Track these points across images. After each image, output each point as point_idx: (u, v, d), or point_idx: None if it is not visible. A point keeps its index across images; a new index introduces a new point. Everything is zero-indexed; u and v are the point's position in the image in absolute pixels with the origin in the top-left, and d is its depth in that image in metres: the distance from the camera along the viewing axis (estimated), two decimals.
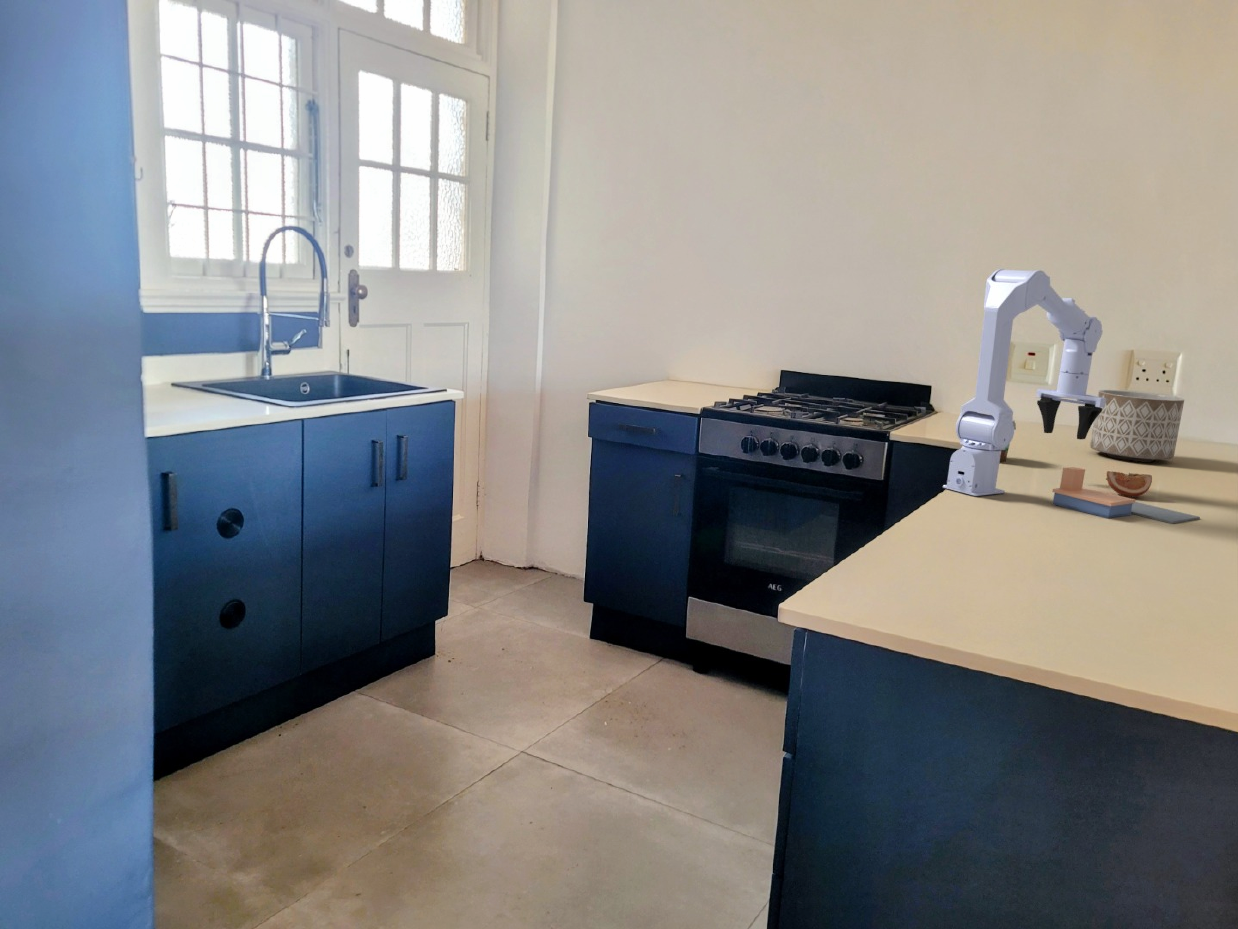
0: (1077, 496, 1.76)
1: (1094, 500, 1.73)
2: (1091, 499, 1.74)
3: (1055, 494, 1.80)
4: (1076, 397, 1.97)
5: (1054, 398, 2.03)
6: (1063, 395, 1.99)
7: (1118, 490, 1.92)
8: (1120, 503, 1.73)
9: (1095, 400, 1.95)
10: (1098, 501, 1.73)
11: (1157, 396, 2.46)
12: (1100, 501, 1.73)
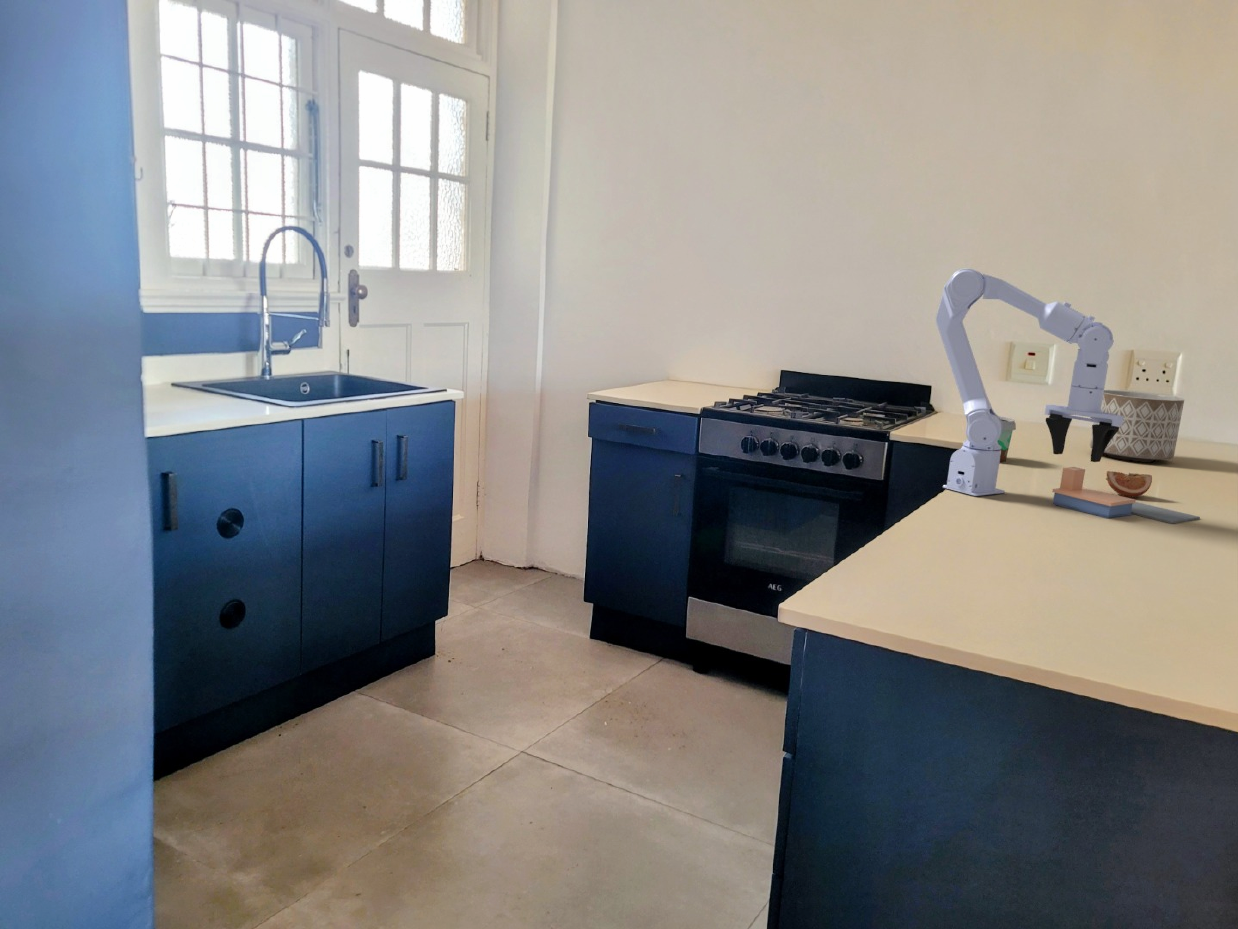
0: (1077, 496, 1.76)
1: (1094, 500, 1.73)
2: (1091, 499, 1.74)
3: (1055, 494, 1.80)
4: (1090, 415, 1.75)
5: (1065, 415, 1.81)
6: (1075, 412, 1.77)
7: (1118, 490, 1.92)
8: (1120, 503, 1.73)
9: (1112, 418, 1.73)
10: (1098, 501, 1.73)
11: (1157, 396, 2.46)
12: (1100, 501, 1.73)
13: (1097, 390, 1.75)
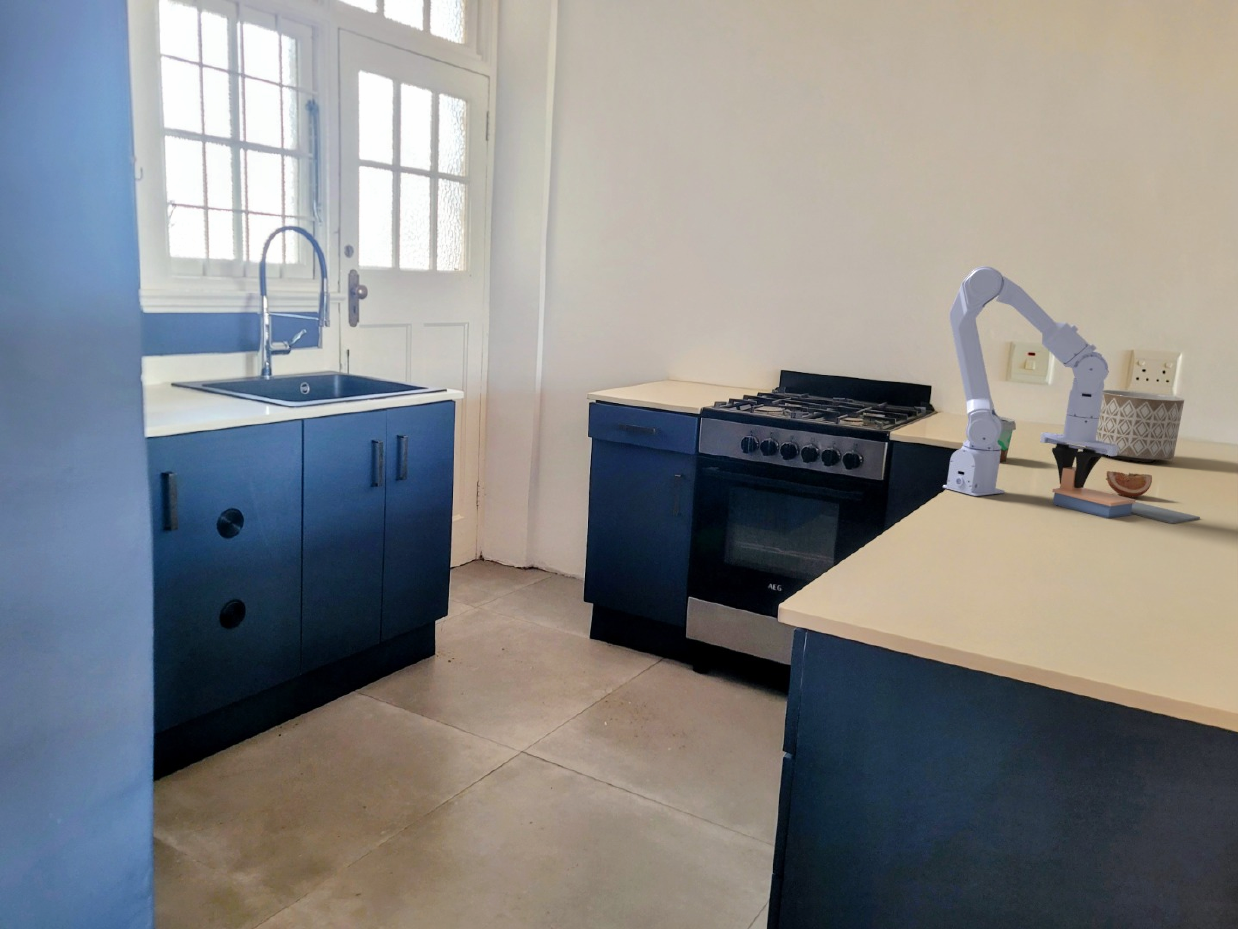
0: (1077, 496, 1.76)
1: (1094, 500, 1.73)
2: (1091, 499, 1.74)
3: (1055, 494, 1.80)
4: (1085, 444, 1.76)
5: (1060, 443, 1.82)
6: (1070, 441, 1.78)
7: (1118, 490, 1.92)
8: (1120, 503, 1.73)
9: (1107, 448, 1.74)
10: (1098, 501, 1.73)
11: (1157, 396, 2.46)
12: (1100, 501, 1.73)
13: (1092, 419, 1.76)
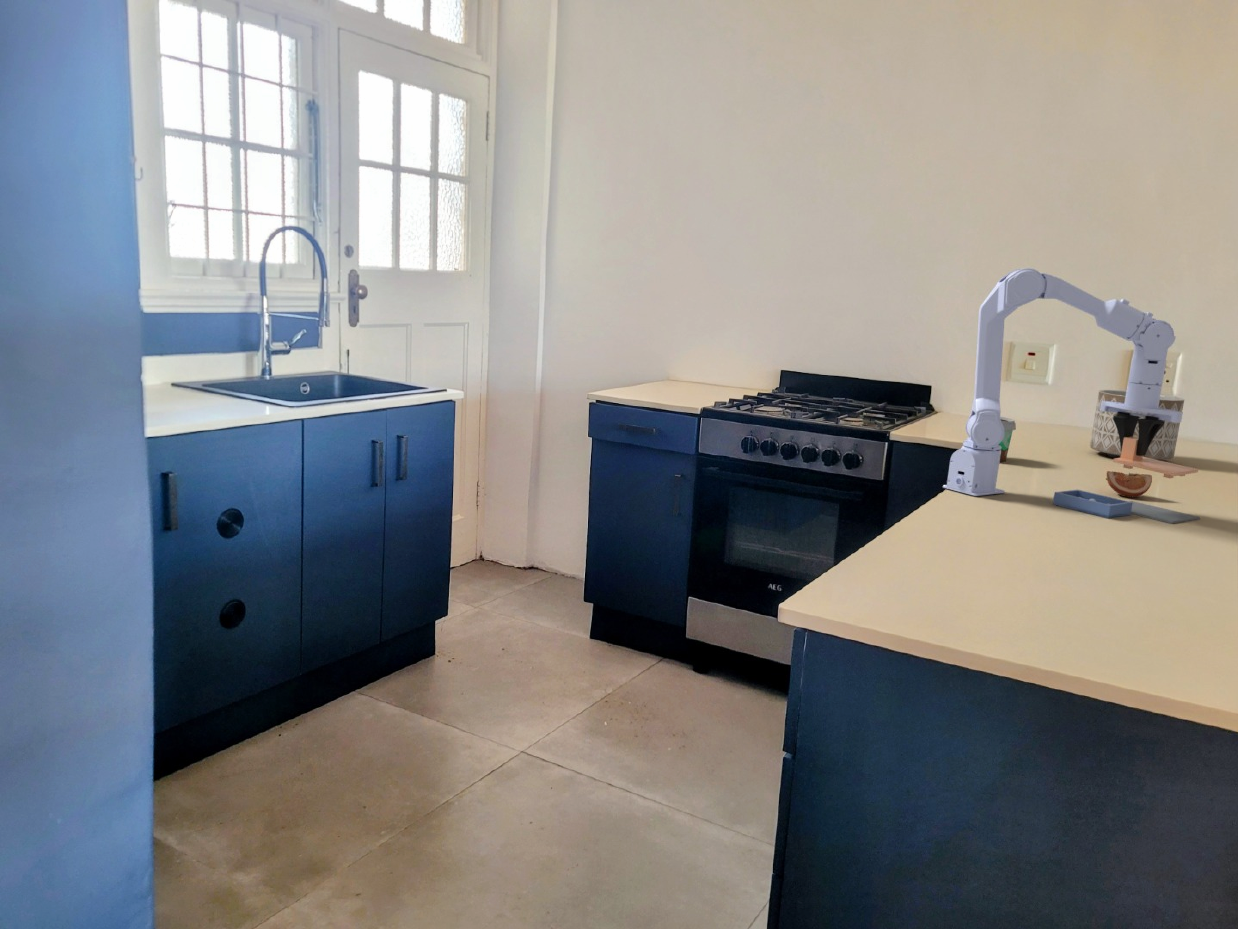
0: (1139, 466, 1.75)
1: (1157, 470, 1.73)
2: (1154, 469, 1.73)
3: (1055, 494, 1.80)
4: (1148, 411, 1.75)
5: (1121, 411, 1.82)
6: (1133, 408, 1.77)
7: (1118, 490, 1.92)
8: (1183, 473, 1.72)
9: (1171, 414, 1.73)
10: (1161, 471, 1.72)
11: None
12: (1163, 471, 1.72)
13: (1155, 386, 1.75)
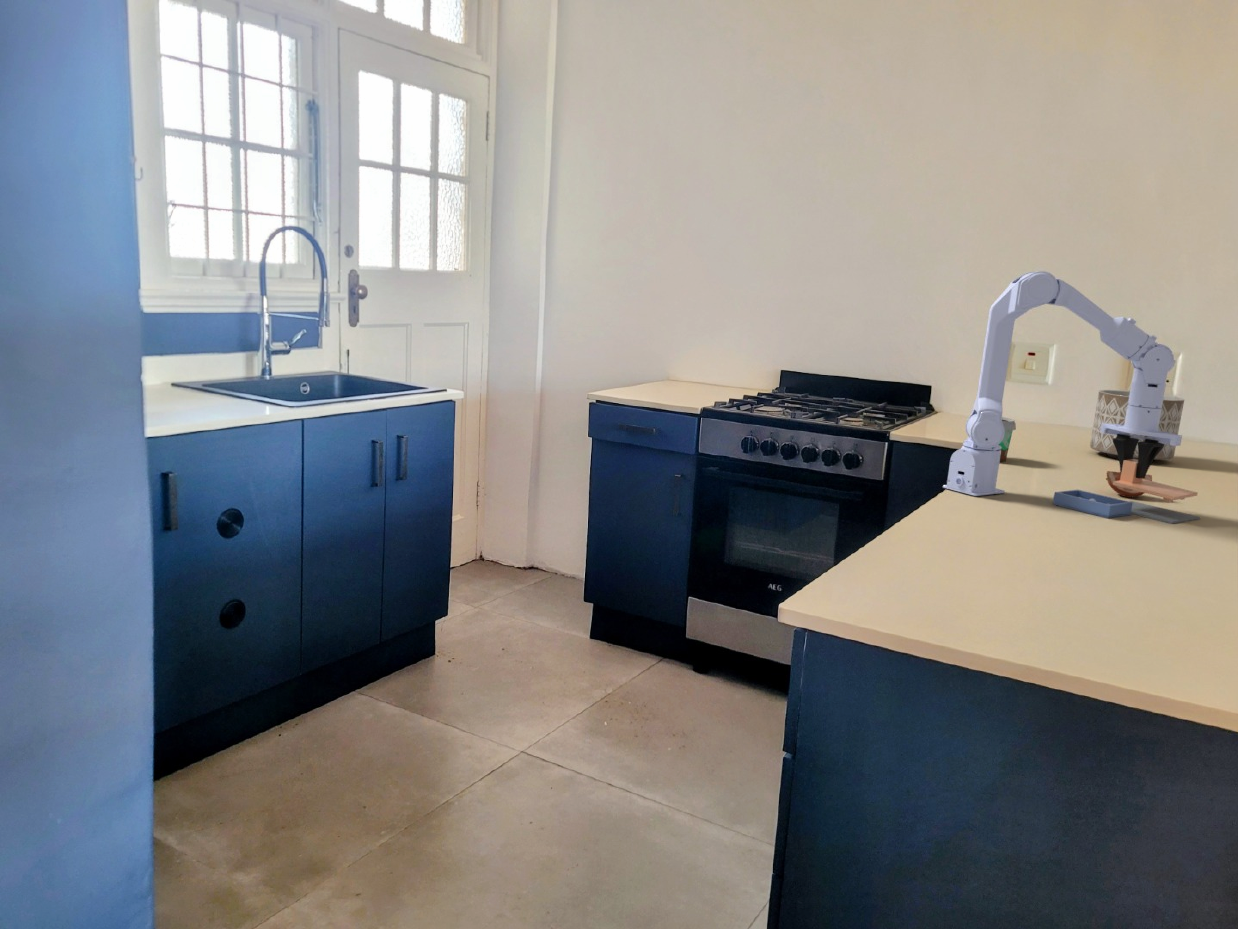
0: (1139, 489, 1.76)
1: (1156, 494, 1.74)
2: (1153, 493, 1.74)
3: (1055, 494, 1.80)
4: (1148, 434, 1.76)
5: (1121, 434, 1.82)
6: (1132, 431, 1.78)
7: (1118, 490, 1.92)
8: (1183, 497, 1.73)
9: (1170, 438, 1.74)
10: (1161, 495, 1.73)
11: None
12: (1163, 495, 1.73)
13: (1155, 410, 1.76)
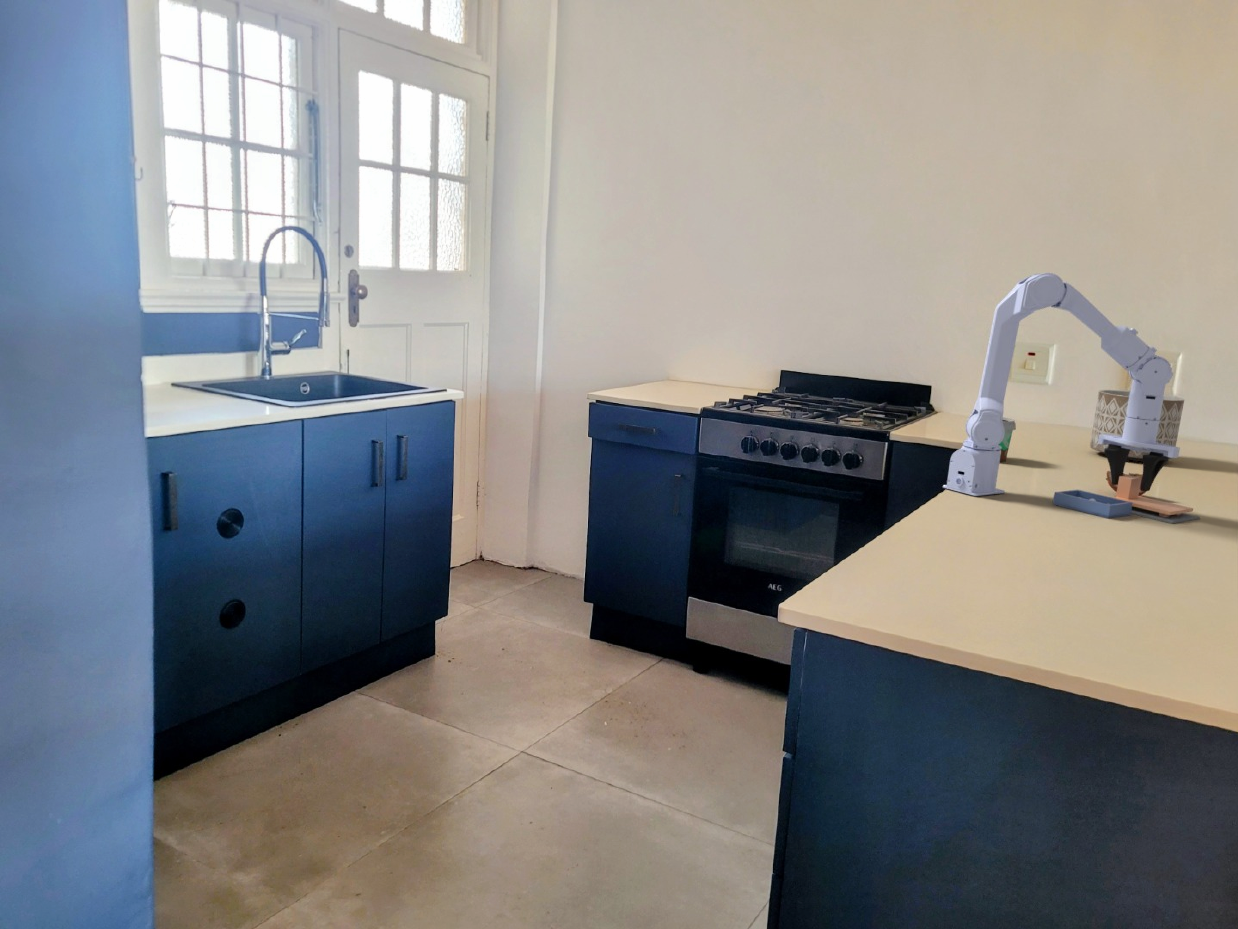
0: (1135, 505, 1.77)
1: (1152, 509, 1.74)
2: (1149, 508, 1.75)
3: (1055, 494, 1.80)
4: (1145, 446, 1.77)
5: (1119, 445, 1.83)
6: (1130, 443, 1.78)
7: None
8: (1179, 512, 1.74)
9: (1168, 450, 1.75)
10: (1157, 510, 1.74)
11: None
12: (1159, 510, 1.73)
13: (1153, 421, 1.77)
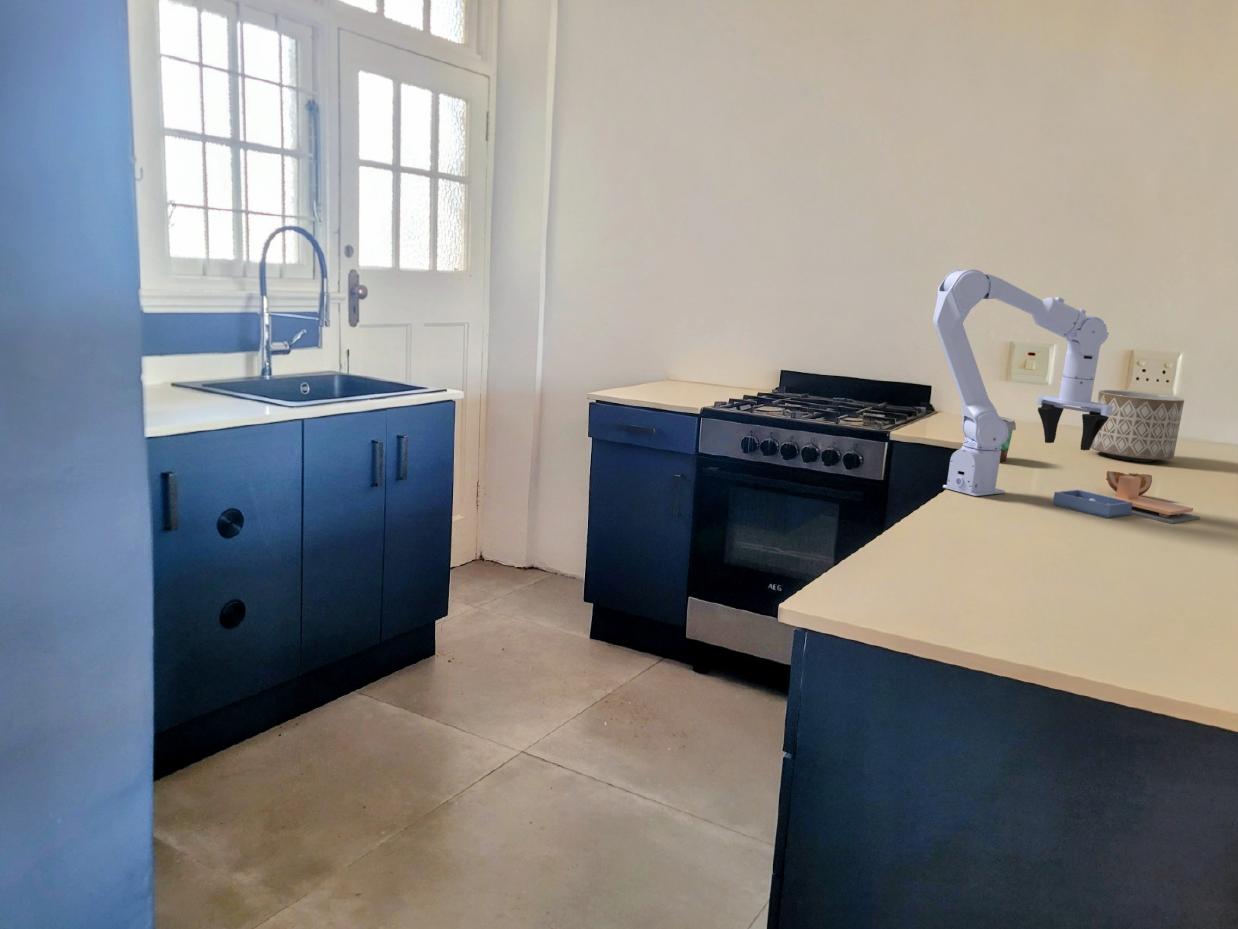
0: (1135, 505, 1.77)
1: (1152, 509, 1.74)
2: (1149, 508, 1.75)
3: (1055, 494, 1.80)
4: (1080, 404, 1.81)
5: (1056, 405, 1.87)
6: (1066, 402, 1.83)
7: None
8: (1179, 512, 1.74)
9: (1101, 408, 1.79)
10: (1157, 510, 1.74)
11: (1157, 396, 2.46)
12: (1159, 510, 1.73)
13: (1087, 381, 1.81)
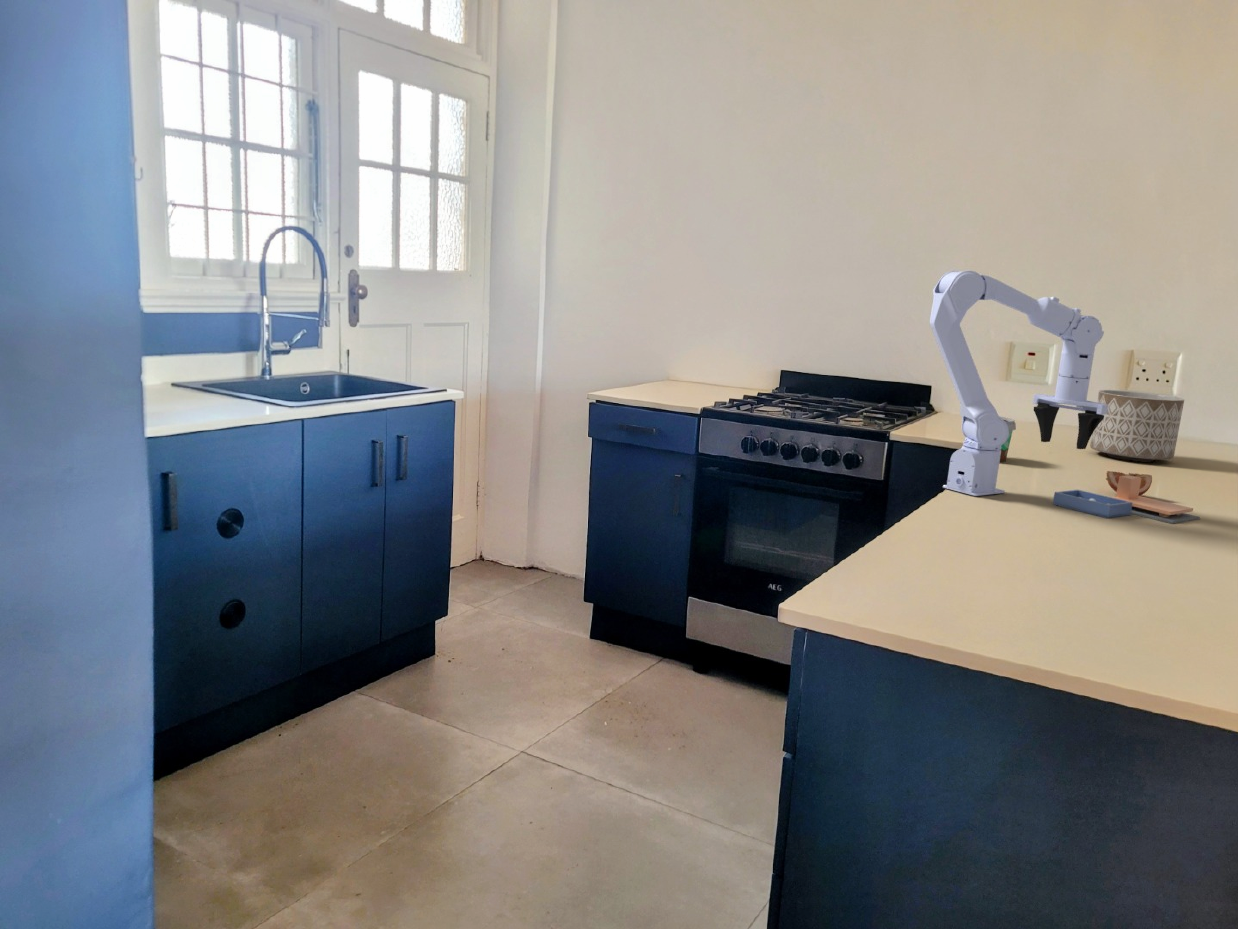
0: (1135, 505, 1.77)
1: (1152, 509, 1.74)
2: (1149, 508, 1.75)
3: (1055, 494, 1.80)
4: (1076, 403, 1.81)
5: (1052, 404, 1.88)
6: (1062, 401, 1.83)
7: None
8: (1179, 512, 1.74)
9: (1097, 407, 1.79)
10: (1157, 510, 1.74)
11: (1157, 396, 2.46)
12: (1159, 510, 1.73)
13: (1083, 380, 1.81)
